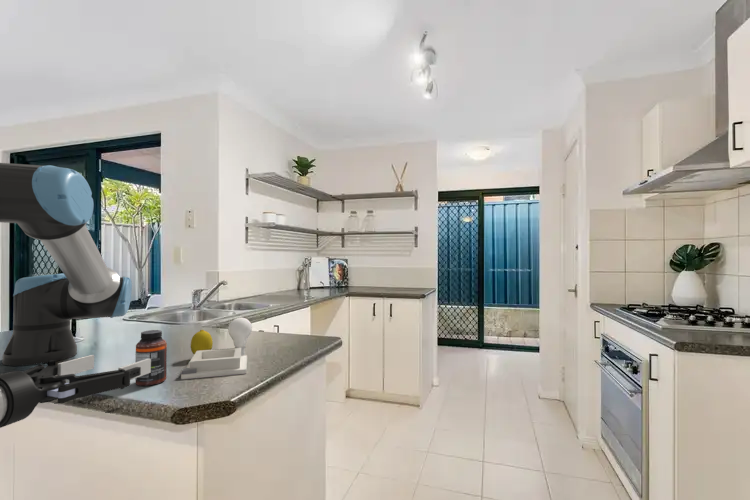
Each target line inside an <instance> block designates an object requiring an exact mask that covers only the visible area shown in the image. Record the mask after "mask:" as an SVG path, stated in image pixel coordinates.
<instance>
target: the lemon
mask: <svg viewBox="0 0 750 500" xmlns="http://www.w3.org/2000/svg"><path fill="white" fill-rule="evenodd" d="M213 343H214V341H213V338H212V335H211V334H210V332H208V331H206V330H204V329H200V330H199V331H197V332H195V333H194V334H193V336H192V337H191V339H190V350H191V351H190V352H192V354H193V355H194V354H195V353H196V351H200V350H213V349H212V348H213Z"/></svg>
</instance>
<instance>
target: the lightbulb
mask: <svg viewBox="0 0 750 500" xmlns="http://www.w3.org/2000/svg"><path fill="white" fill-rule="evenodd" d="M227 330H228V335H229V337H230V338H231V340H232V342H233V346H234V348H241V356H242V355H246V344H247V340H248V338H250V335H251V334H252V331H253V326H252V323H251V322H250V320H249V319H247V318H245V317H236V318H233V320H231V321H230V322H229V325H228V328H227Z"/></svg>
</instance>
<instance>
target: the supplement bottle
mask: <svg viewBox="0 0 750 500" xmlns="http://www.w3.org/2000/svg"><path fill="white" fill-rule="evenodd" d="M167 345H168V344H167V341H166V339H164V338H163V331H162V330H161V329H151V330H143V331H142V332H140V340H139V341H138V342H137V343H136V345H135V354H134V355H135V362H134V363H136V362H139V361H142V360H145V359H151V373H148V374H146V375H143V376H140V377H137V378H135V379H134V380H135V384H136V385H137V386H139V387H149V386H155V385H158V384H161V383H163V382H165V381H166V380H167V374H168V373H167V368H168V367H167V366H168V365H167V359H168V358H167V357H168V354H167V351H168V349H167Z"/></svg>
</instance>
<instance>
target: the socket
mask: <svg viewBox="0 0 750 500" xmlns="http://www.w3.org/2000/svg"><path fill="white" fill-rule="evenodd" d="M247 366H248V354H244V355H242V356H241V348H235V347H233V348H218V349H217V348H216V349H211V350H200V351H196V353H195V354H193V356H192V357H191V359H190V361H189V362H188V364H187V365H186V367H184V368H182V370H181V374H180V380H190V379H191V380H192V379H201V378H203V379H204V378H211V377H212V378H213V377H223V376H234V375H244V374H245V375H246V374H247V368H248V367H247Z"/></svg>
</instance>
